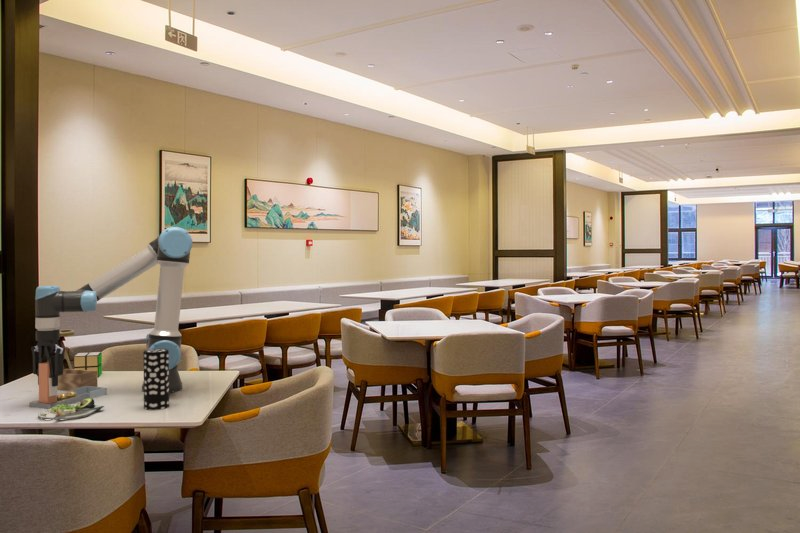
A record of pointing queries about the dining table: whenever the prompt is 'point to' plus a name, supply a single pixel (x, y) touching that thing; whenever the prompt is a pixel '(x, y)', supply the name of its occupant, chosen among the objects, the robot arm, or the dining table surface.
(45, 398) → the post
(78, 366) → the puzzle cube
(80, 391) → the tray
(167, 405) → the spotted tube
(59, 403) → the shallow gray open box
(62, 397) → the ball
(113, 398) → the dining table surface
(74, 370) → the brown wooden block
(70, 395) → the ball
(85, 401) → the salad plate
